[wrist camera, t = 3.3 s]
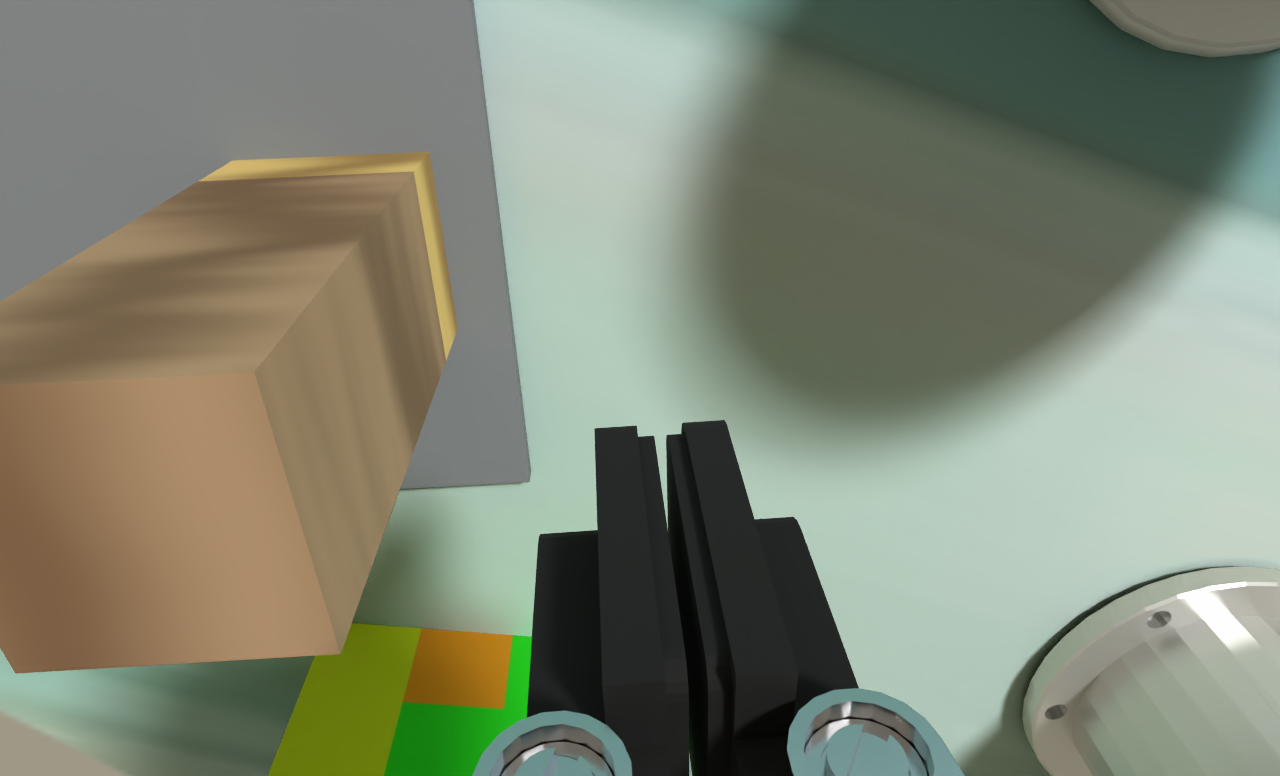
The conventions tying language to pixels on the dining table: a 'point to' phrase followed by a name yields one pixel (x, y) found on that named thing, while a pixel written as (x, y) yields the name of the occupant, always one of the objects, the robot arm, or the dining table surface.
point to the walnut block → (219, 415)
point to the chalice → (1199, 24)
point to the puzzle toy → (405, 703)
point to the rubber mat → (266, 153)
